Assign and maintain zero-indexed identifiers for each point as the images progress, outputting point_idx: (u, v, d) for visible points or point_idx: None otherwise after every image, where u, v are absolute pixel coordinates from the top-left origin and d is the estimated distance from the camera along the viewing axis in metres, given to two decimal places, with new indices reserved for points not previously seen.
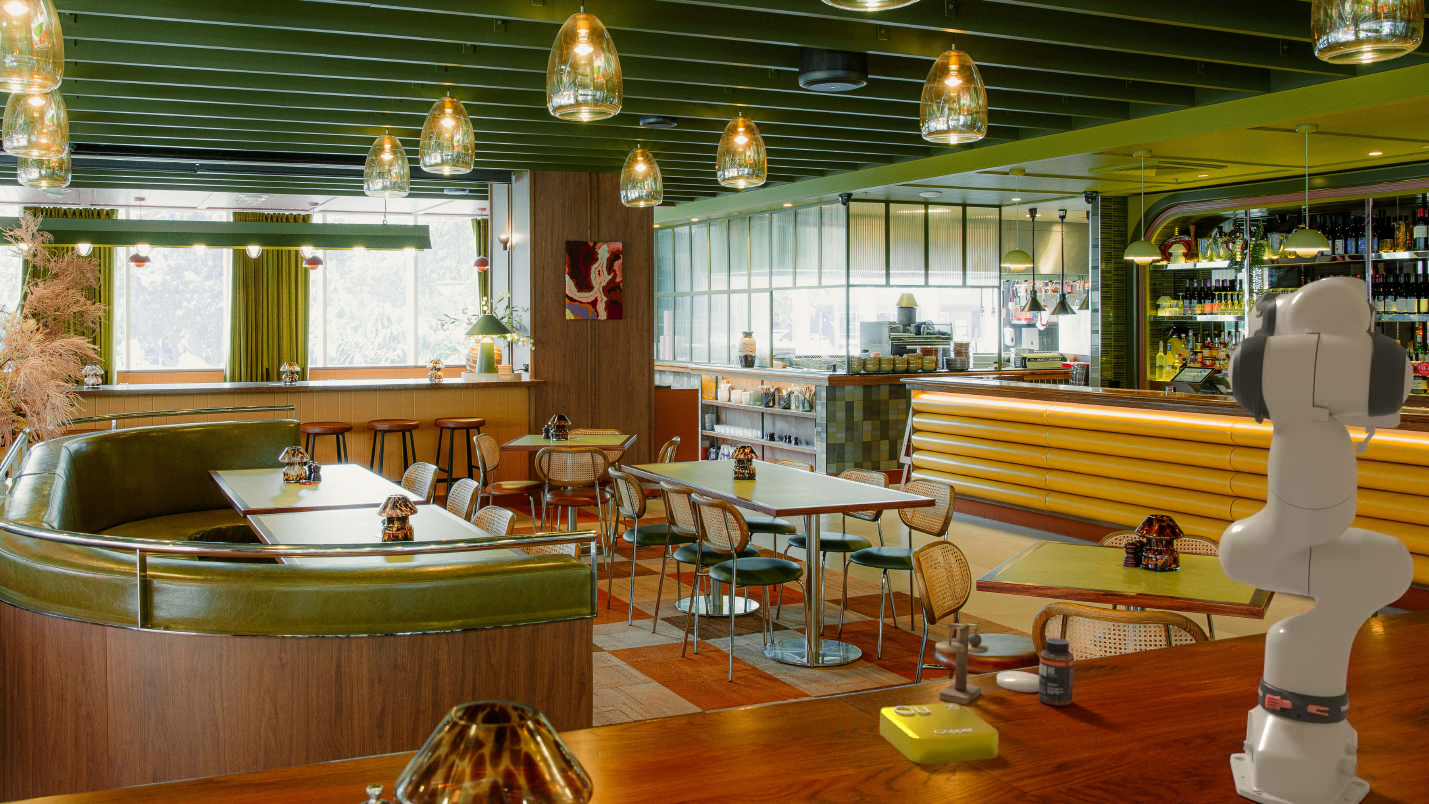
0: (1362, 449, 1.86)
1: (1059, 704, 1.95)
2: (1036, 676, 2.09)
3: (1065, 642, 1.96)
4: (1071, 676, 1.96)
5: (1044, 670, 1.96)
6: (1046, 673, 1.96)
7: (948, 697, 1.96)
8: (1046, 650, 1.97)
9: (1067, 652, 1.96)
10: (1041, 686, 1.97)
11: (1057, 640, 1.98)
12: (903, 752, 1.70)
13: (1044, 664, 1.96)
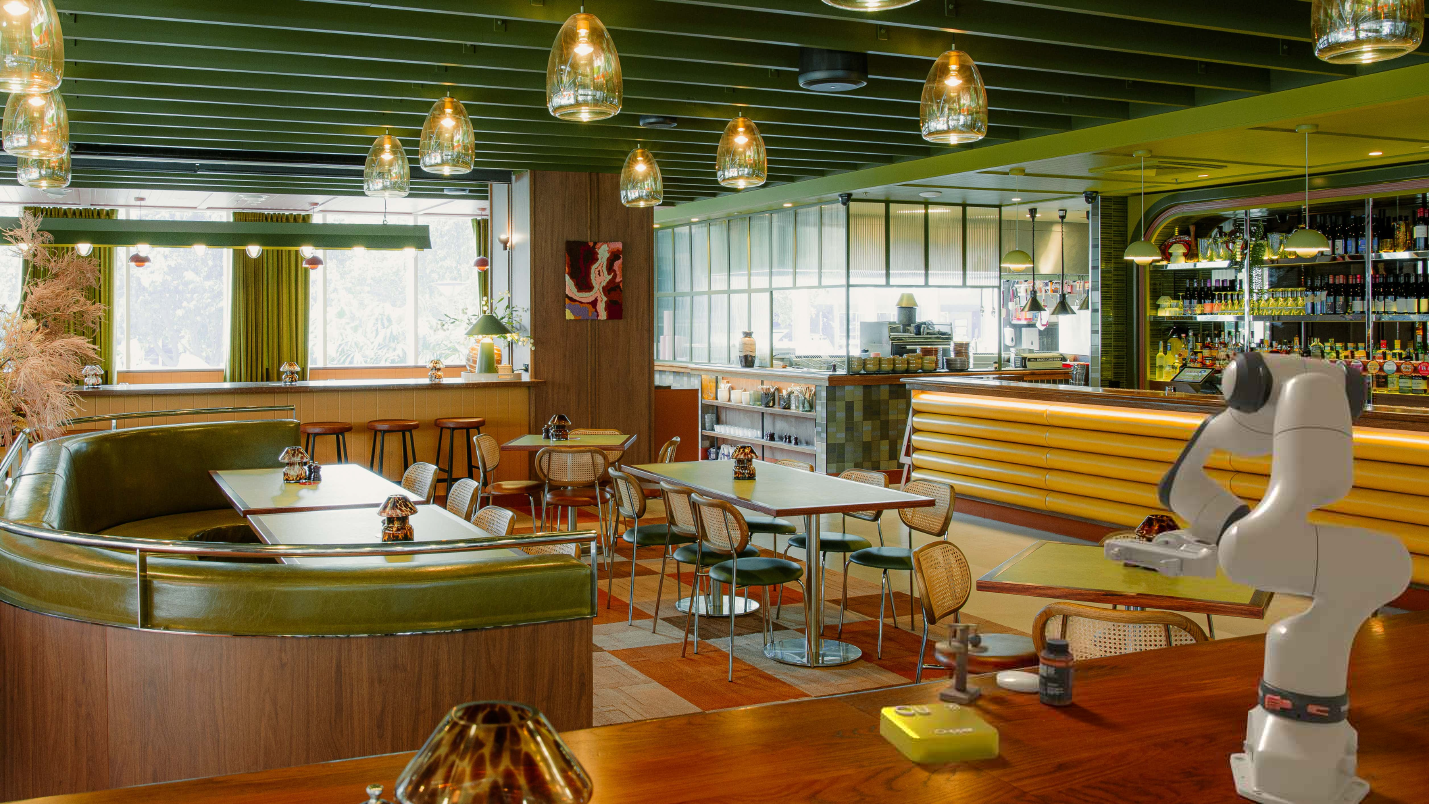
0: (1161, 560, 2.01)
1: (1059, 704, 1.95)
2: (1036, 676, 2.09)
3: (1065, 642, 1.96)
4: (1071, 676, 1.96)
5: (1044, 670, 1.96)
6: (1046, 673, 1.96)
7: (948, 697, 1.96)
8: (1046, 650, 1.97)
9: (1067, 652, 1.96)
10: (1041, 686, 1.97)
11: (1057, 640, 1.98)
12: (903, 752, 1.70)
13: (1044, 664, 1.96)
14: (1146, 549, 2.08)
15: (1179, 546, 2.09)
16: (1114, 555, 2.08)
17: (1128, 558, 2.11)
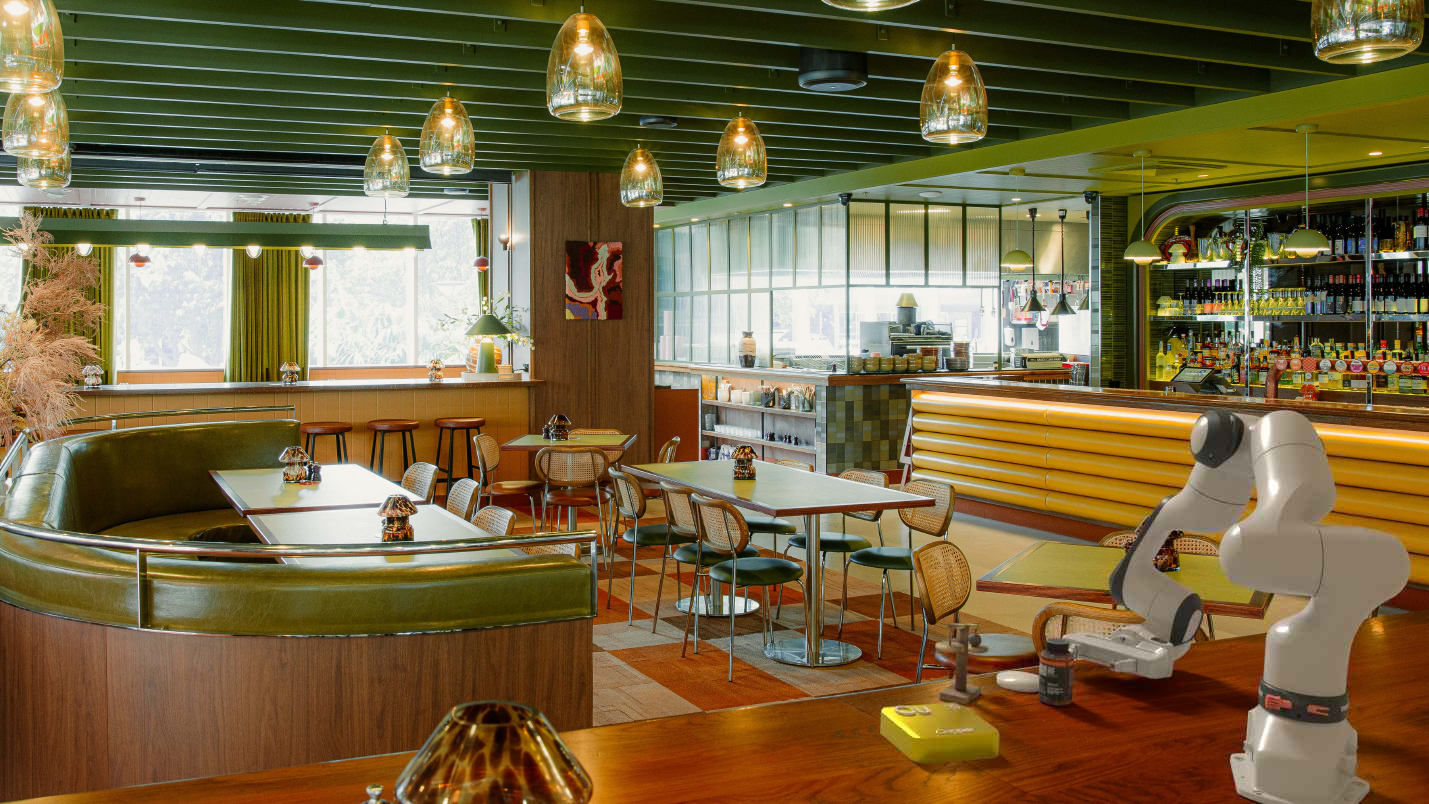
0: (1116, 661, 2.01)
1: (1059, 704, 1.95)
2: (1036, 676, 2.09)
3: (1065, 642, 1.96)
4: (1071, 676, 1.96)
5: (1044, 670, 1.96)
6: (1046, 673, 1.96)
7: (948, 697, 1.96)
8: (1046, 650, 1.97)
9: (1067, 652, 1.96)
10: (1041, 686, 1.97)
11: (1057, 640, 1.98)
12: (904, 752, 1.70)
13: (1044, 664, 1.96)
14: (1102, 647, 2.08)
15: (1135, 643, 2.09)
16: None
17: (1085, 654, 2.11)
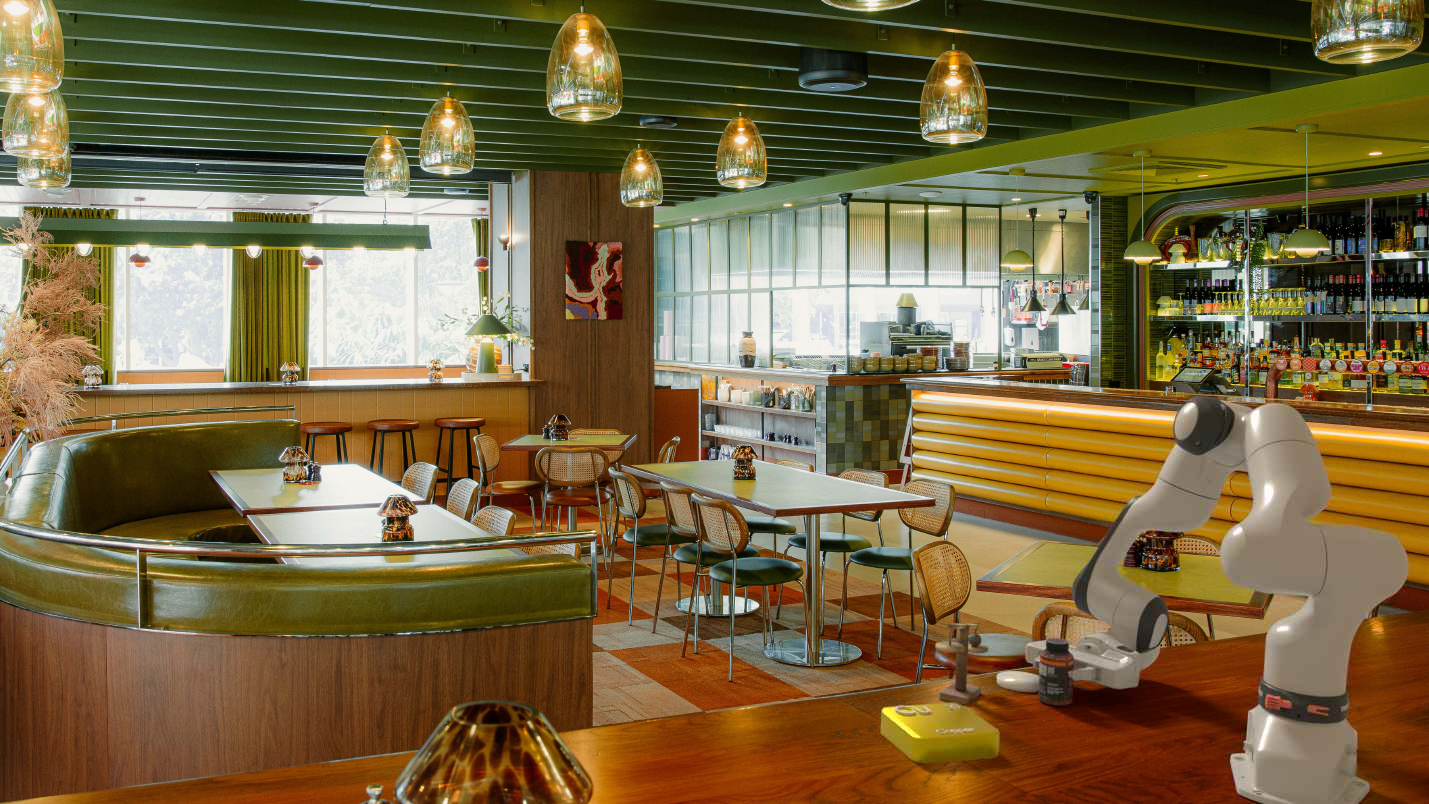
0: (1074, 670, 1.95)
1: (1059, 704, 1.95)
2: (1036, 676, 2.09)
3: (1065, 642, 1.96)
4: None
5: (1044, 670, 1.96)
6: (1046, 673, 1.96)
7: (948, 697, 1.96)
8: (1046, 650, 1.97)
9: (1067, 652, 1.96)
10: (1041, 686, 1.97)
11: (1057, 640, 1.98)
12: (904, 752, 1.71)
13: (1044, 664, 1.96)
14: None
15: (1101, 652, 2.02)
16: (1038, 663, 2.00)
17: None
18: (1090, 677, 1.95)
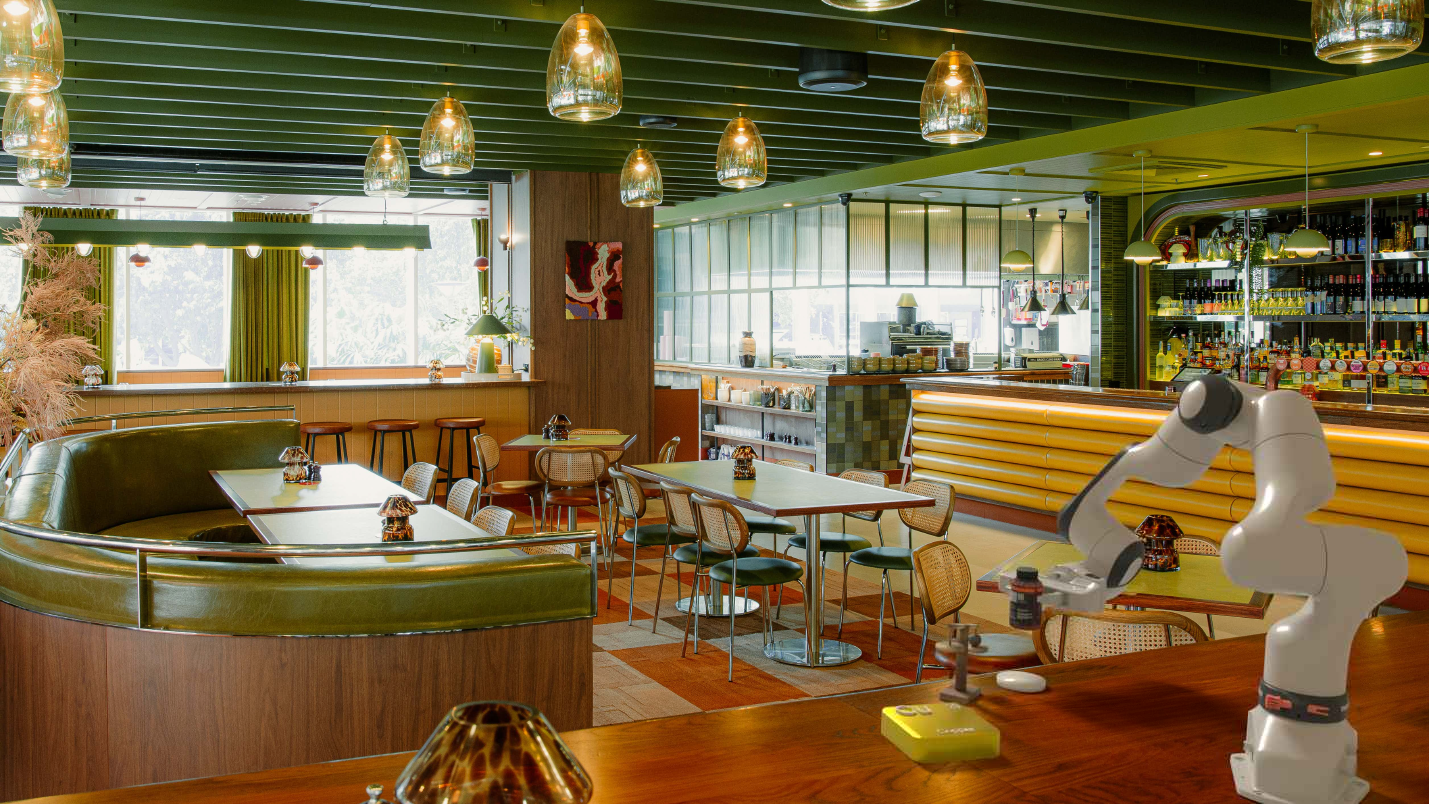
0: (1042, 594, 2.03)
1: (1028, 629, 2.04)
2: (1036, 676, 2.09)
3: (1034, 570, 2.05)
4: None
5: (1014, 597, 2.05)
6: (1016, 599, 2.05)
7: (948, 697, 1.96)
8: (1016, 578, 2.06)
9: (1036, 579, 2.05)
10: (1011, 612, 2.06)
11: (1027, 568, 2.06)
12: (905, 752, 1.71)
13: (1014, 591, 2.05)
14: None
15: (1070, 580, 2.11)
16: (1009, 590, 2.09)
17: None
18: (1058, 602, 2.04)
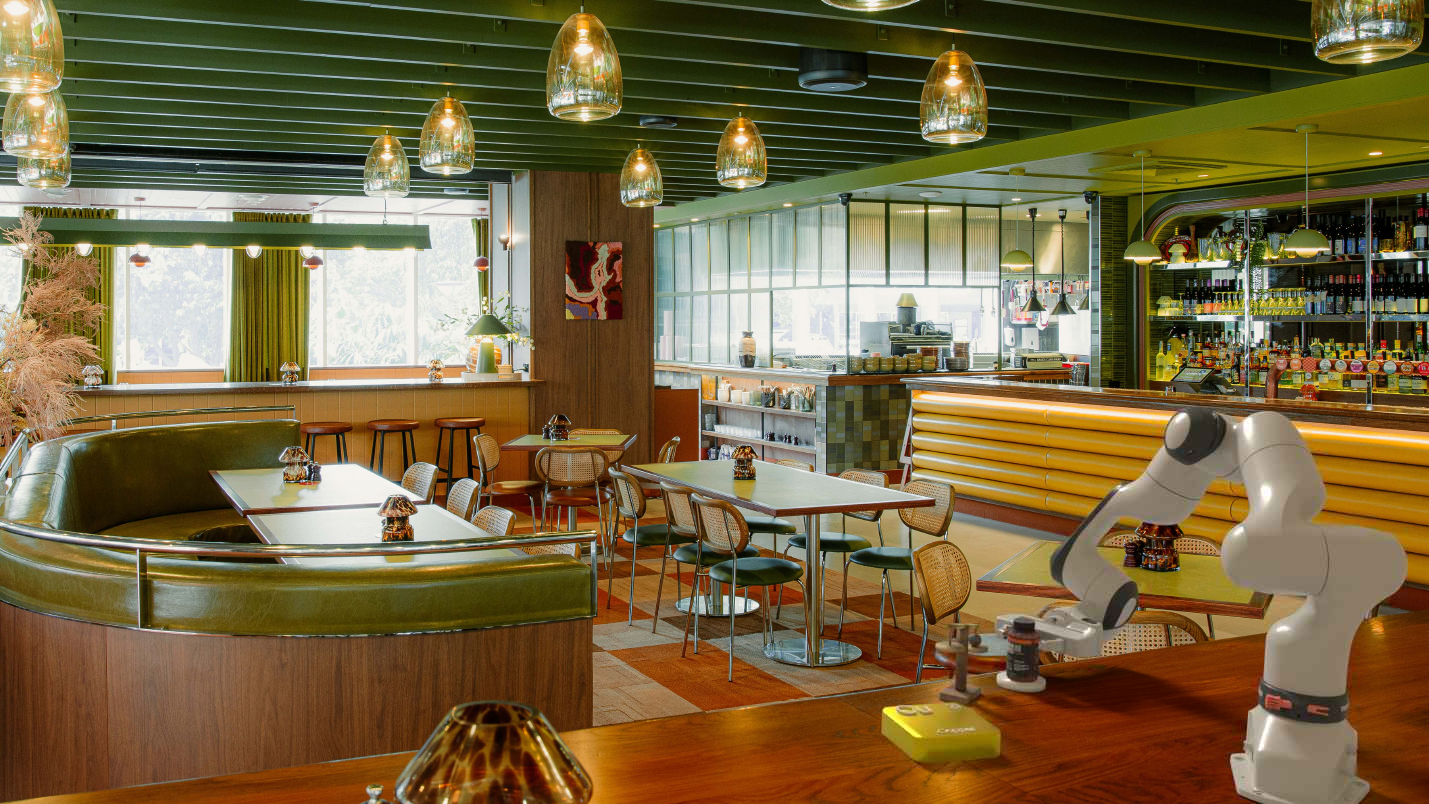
0: (1044, 641, 2.03)
1: (1025, 680, 2.05)
2: None
3: (1031, 621, 2.06)
4: (1037, 654, 2.05)
5: (1011, 648, 2.06)
6: (1013, 650, 2.05)
7: (948, 697, 1.96)
8: (1013, 629, 2.07)
9: (1033, 630, 2.05)
10: (1008, 663, 2.06)
11: (1024, 619, 2.07)
12: (906, 751, 1.71)
13: (1011, 642, 2.06)
14: None
15: (1066, 624, 2.11)
16: (1001, 633, 2.10)
17: None
18: (1059, 648, 2.03)
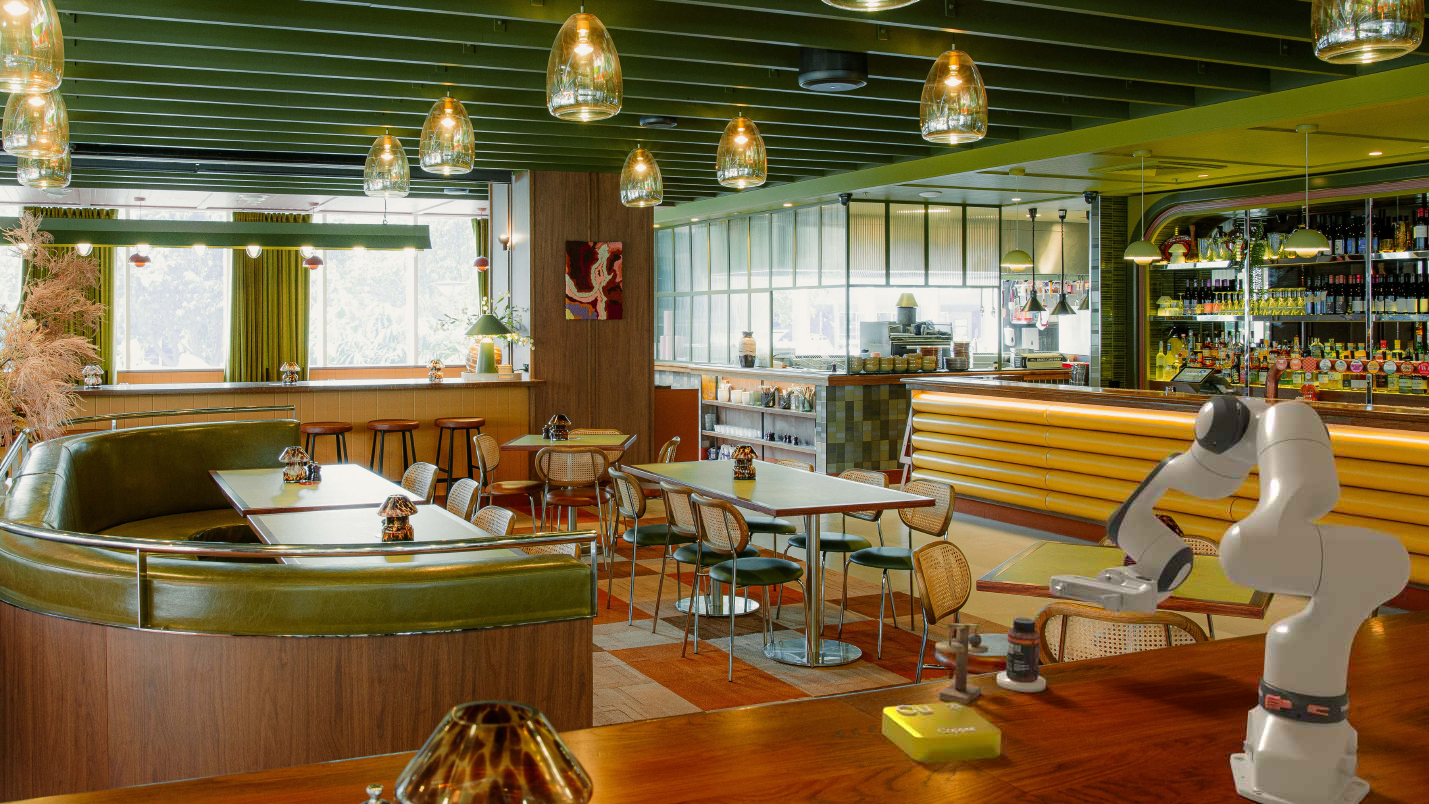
0: (1102, 596, 2.08)
1: (1025, 680, 2.05)
2: None
3: (1031, 621, 2.06)
4: (1037, 654, 2.05)
5: (1011, 648, 2.06)
6: (1013, 650, 2.05)
7: (948, 697, 1.96)
8: (1013, 629, 2.07)
9: (1033, 631, 2.05)
10: (1008, 663, 2.06)
11: (1024, 619, 2.07)
12: (906, 751, 1.71)
13: (1011, 642, 2.06)
14: (1089, 585, 2.15)
15: (1121, 582, 2.17)
16: (1058, 590, 2.15)
17: (1072, 593, 2.18)
18: (1117, 603, 2.09)
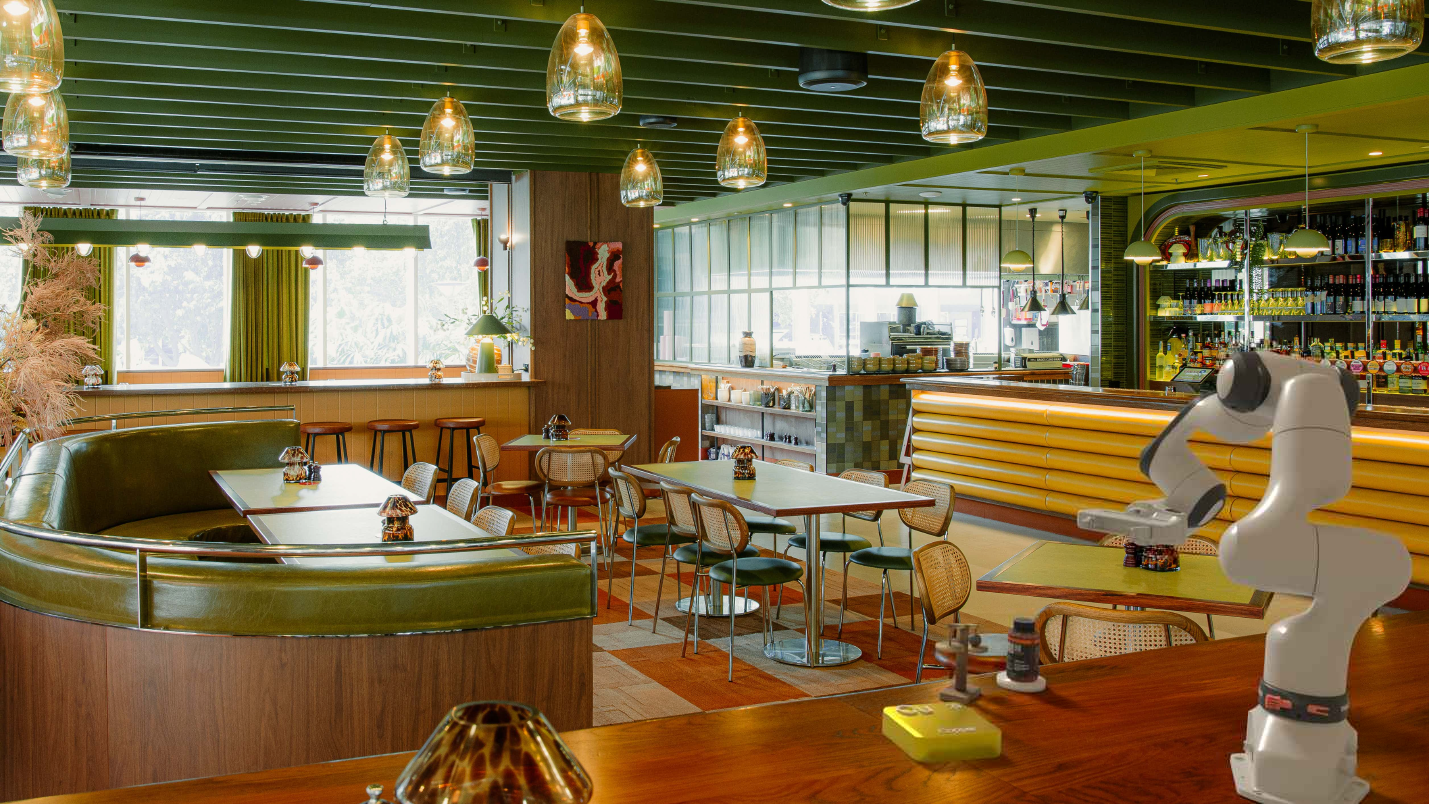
0: (1131, 527, 2.05)
1: (1025, 680, 2.05)
2: None
3: (1031, 621, 2.06)
4: (1037, 653, 2.05)
5: (1012, 648, 2.06)
6: (1013, 650, 2.05)
7: (948, 697, 1.96)
8: (1013, 629, 2.07)
9: (1033, 630, 2.06)
10: (1009, 663, 2.06)
11: (1024, 619, 2.07)
12: (906, 751, 1.71)
13: (1011, 642, 2.06)
14: (1117, 517, 2.12)
15: (1150, 515, 2.14)
16: (1086, 523, 2.13)
17: (1100, 527, 2.16)
18: (1146, 535, 2.06)
